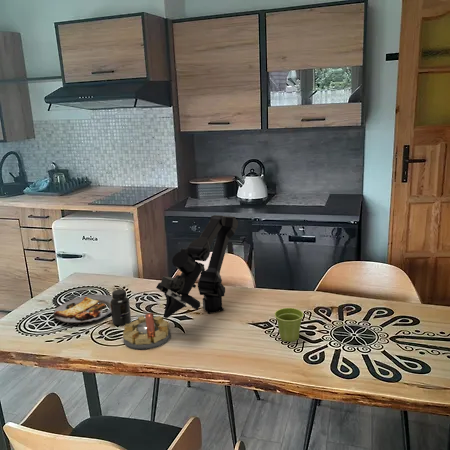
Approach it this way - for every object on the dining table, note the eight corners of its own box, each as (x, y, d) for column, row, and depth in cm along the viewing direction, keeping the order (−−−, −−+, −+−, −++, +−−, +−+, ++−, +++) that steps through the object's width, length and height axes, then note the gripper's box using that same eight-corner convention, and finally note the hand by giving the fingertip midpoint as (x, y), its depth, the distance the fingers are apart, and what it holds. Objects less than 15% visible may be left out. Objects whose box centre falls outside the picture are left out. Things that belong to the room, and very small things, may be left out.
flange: (154, 321, 167) (153, 310, 165) (180, 336, 155) (179, 324, 154) (115, 338, 156) (113, 325, 155) (139, 355, 145) (138, 342, 144)
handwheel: (151, 318, 165) (149, 294, 163) (177, 331, 155) (175, 306, 153) (116, 334, 155) (113, 309, 153) (141, 349, 145) (138, 322, 142)
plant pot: (285, 348, 145) (285, 323, 142) (269, 335, 153) (269, 312, 151) (309, 340, 149) (309, 315, 147) (292, 328, 157) (292, 305, 155)
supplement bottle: (126, 326, 164) (123, 296, 161) (109, 325, 165) (105, 295, 162) (134, 318, 170) (130, 288, 167) (117, 317, 172) (113, 287, 169)
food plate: (84, 332, 161) (83, 323, 161) (40, 320, 173) (39, 311, 172) (131, 305, 182) (130, 297, 182) (89, 296, 194) (88, 289, 193)
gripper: (158, 260, 158) (134, 299, 154) (190, 274, 144) (164, 317, 141) (178, 274, 165) (155, 312, 161) (210, 288, 152) (187, 330, 148)
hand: (164, 317), depth 153 cm, fingers closed
